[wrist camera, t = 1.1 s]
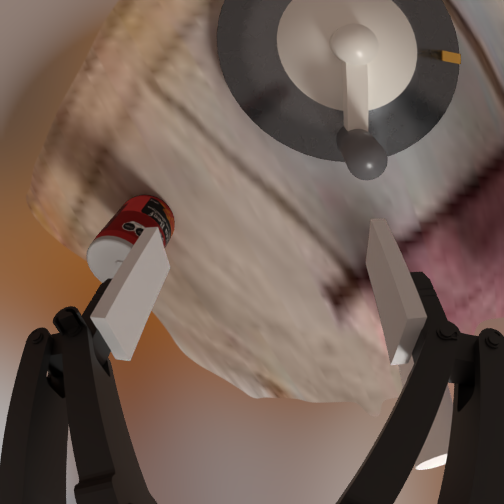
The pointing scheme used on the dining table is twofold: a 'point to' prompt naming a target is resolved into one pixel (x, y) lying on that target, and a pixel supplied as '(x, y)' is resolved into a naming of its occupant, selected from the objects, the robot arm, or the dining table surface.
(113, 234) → the canned food
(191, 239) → the dining table surface
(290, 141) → the dial plate
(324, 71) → the dial
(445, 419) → the cylindrical container
